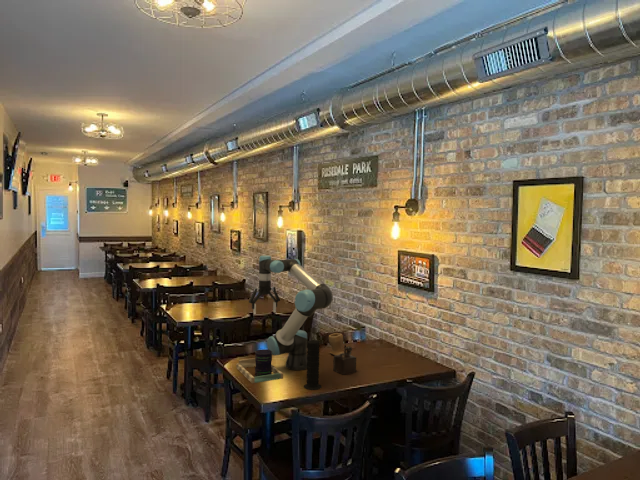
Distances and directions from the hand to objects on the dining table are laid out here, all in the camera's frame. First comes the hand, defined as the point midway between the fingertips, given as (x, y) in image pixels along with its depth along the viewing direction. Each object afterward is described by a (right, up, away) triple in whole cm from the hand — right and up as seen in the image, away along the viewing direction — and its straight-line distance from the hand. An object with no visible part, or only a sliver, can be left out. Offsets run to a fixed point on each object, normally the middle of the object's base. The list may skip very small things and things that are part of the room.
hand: (264, 313), depth 301 cm
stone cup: (+48, -33, +22) cm, 62 cm away
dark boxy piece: (+52, -35, -12) cm, 63 cm away
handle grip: (+31, -35, -37) cm, 60 cm away
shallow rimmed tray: (-1, -34, -16) cm, 37 cm away
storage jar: (+2, -34, -22) cm, 41 cm away
